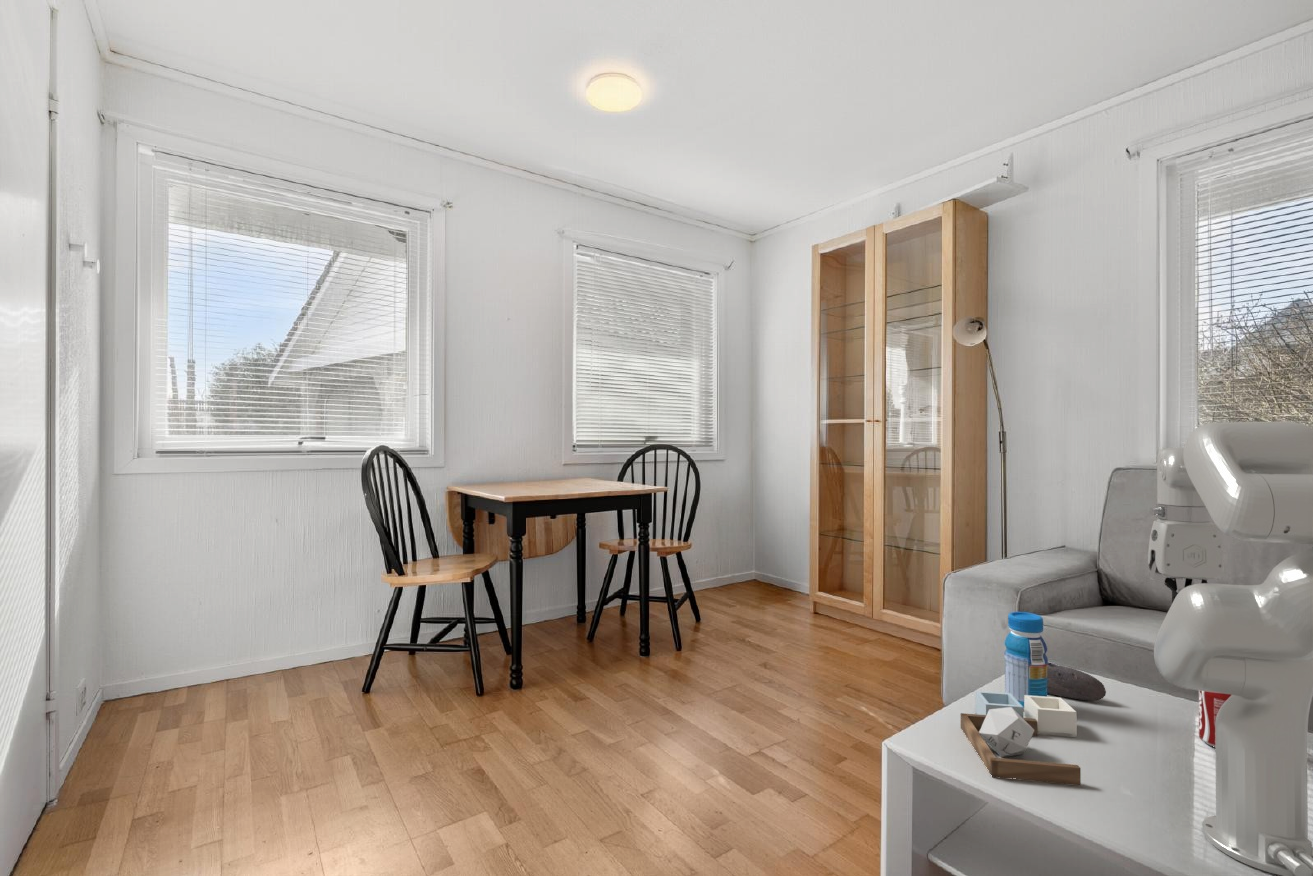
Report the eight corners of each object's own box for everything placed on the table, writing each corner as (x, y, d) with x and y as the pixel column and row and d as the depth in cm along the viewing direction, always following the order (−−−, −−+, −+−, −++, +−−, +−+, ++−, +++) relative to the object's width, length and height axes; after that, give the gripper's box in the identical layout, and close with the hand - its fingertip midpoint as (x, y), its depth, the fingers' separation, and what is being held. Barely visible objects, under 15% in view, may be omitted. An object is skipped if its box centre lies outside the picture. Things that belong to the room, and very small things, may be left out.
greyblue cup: (1023, 731, 125) (1023, 707, 125) (986, 728, 127) (986, 704, 127) (1010, 716, 132) (1010, 693, 132) (975, 714, 134) (975, 690, 134)
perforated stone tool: (1107, 701, 140) (1106, 670, 140) (1105, 709, 136) (1105, 677, 136) (1030, 684, 150) (1030, 656, 150) (1026, 691, 146) (1026, 662, 146)
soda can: (1255, 756, 116) (1255, 692, 116) (1214, 752, 117) (1213, 689, 117) (1230, 739, 122) (1229, 678, 122) (1190, 735, 123) (1190, 675, 124)
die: (972, 753, 118) (995, 727, 112) (973, 716, 125) (995, 689, 119) (1017, 775, 116) (1043, 749, 110) (1016, 735, 122) (1040, 709, 117)
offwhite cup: (1076, 737, 123) (1076, 712, 123) (1038, 734, 124) (1037, 709, 124) (1060, 721, 130) (1060, 697, 130) (1024, 718, 131) (1024, 695, 131)
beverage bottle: (1002, 707, 137) (1001, 616, 137) (1006, 694, 144) (1005, 608, 144) (1047, 716, 132) (1046, 623, 132) (1049, 702, 139) (1048, 614, 139)
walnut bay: (1080, 785, 106) (1080, 768, 106) (991, 777, 109) (991, 760, 109) (1035, 733, 124) (1035, 719, 125) (960, 727, 127) (960, 713, 127)
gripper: (1150, 516, 111) (1151, 618, 111) (1245, 518, 109) (1246, 622, 109) (1126, 511, 119) (1126, 607, 119) (1214, 512, 116) (1215, 610, 116)
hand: (1183, 614), depth 114 cm, fingers closed
